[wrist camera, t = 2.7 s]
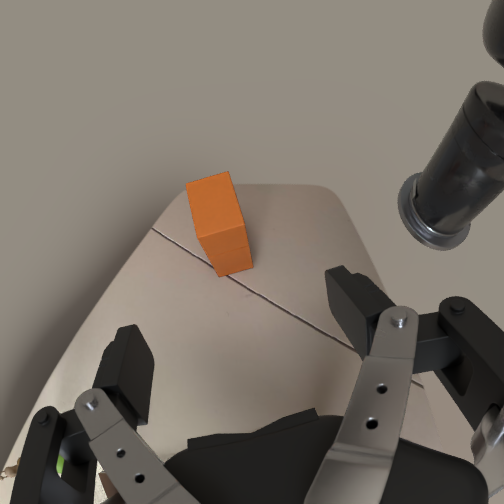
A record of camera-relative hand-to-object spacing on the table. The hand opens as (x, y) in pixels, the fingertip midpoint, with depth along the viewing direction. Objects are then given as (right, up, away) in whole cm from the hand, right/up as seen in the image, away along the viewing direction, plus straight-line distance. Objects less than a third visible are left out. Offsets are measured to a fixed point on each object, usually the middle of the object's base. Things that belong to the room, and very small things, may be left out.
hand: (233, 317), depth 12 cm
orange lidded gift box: (-2, +3, +24) cm, 24 cm away
